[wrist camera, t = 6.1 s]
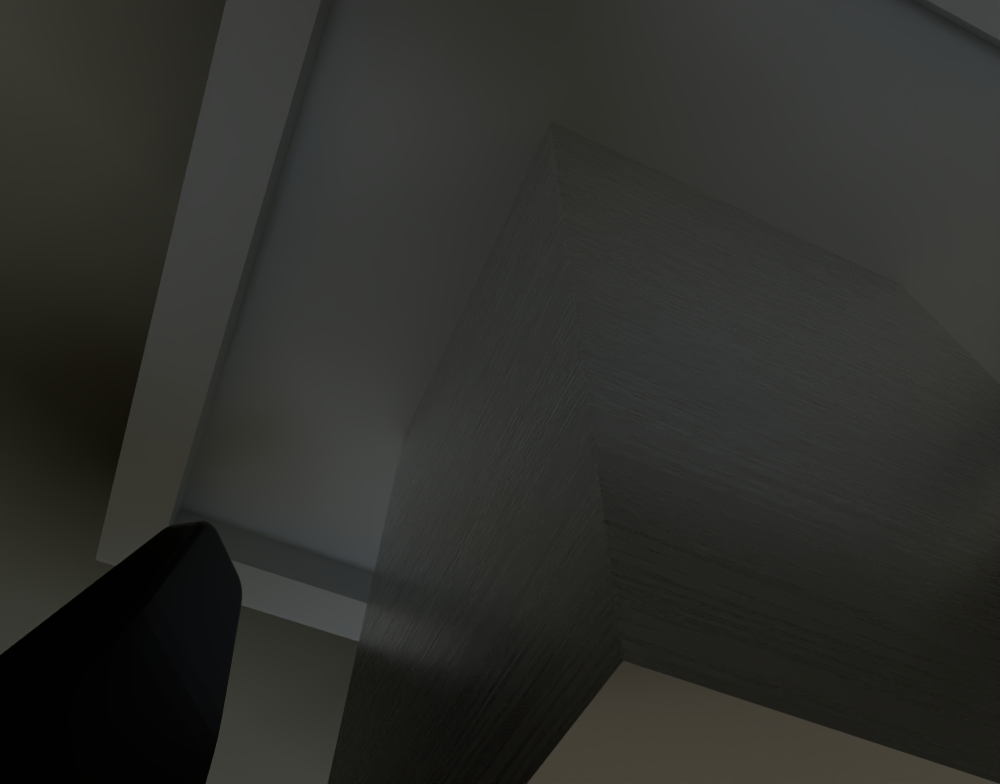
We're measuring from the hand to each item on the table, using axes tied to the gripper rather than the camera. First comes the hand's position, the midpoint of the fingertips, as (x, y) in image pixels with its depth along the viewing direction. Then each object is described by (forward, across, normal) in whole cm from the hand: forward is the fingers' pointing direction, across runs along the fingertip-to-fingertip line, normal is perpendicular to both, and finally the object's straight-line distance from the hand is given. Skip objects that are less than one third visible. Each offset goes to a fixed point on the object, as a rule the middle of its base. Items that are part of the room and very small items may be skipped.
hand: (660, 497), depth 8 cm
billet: (+3, 0, 0) cm, 3 cm away
